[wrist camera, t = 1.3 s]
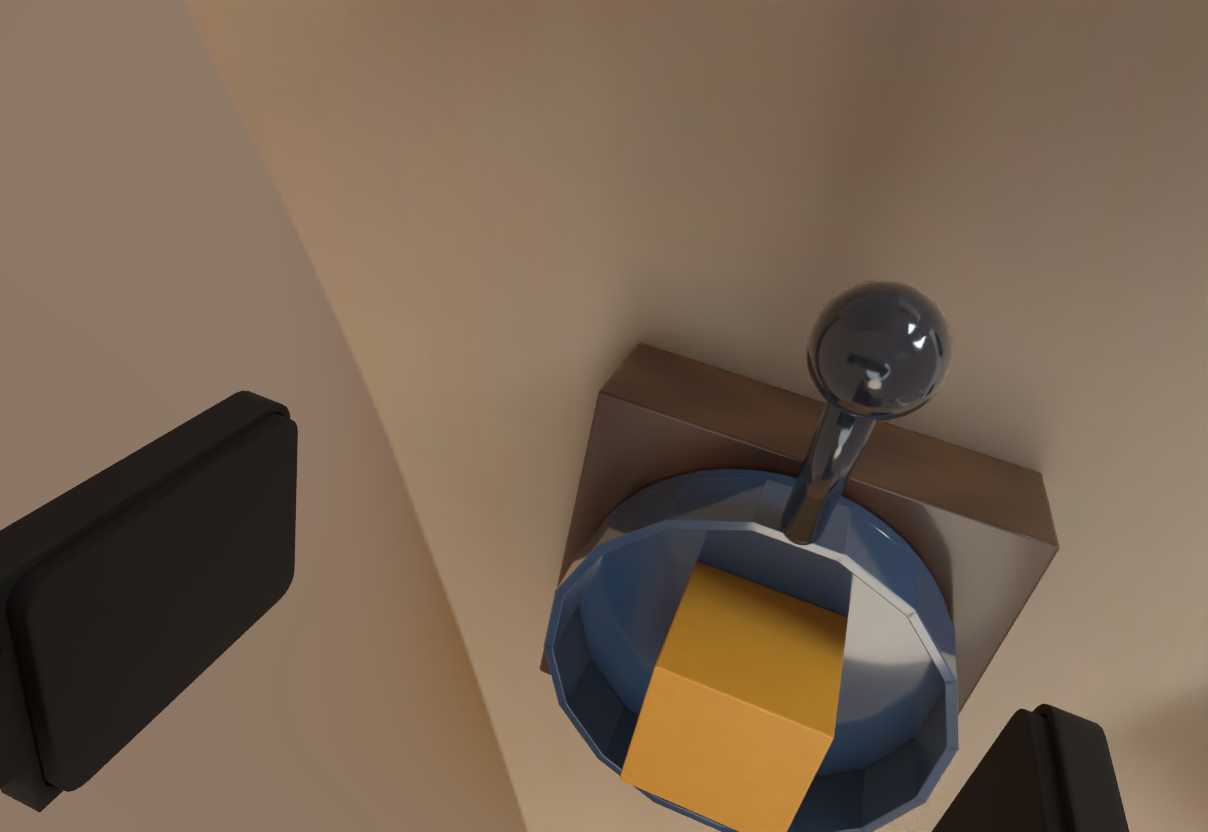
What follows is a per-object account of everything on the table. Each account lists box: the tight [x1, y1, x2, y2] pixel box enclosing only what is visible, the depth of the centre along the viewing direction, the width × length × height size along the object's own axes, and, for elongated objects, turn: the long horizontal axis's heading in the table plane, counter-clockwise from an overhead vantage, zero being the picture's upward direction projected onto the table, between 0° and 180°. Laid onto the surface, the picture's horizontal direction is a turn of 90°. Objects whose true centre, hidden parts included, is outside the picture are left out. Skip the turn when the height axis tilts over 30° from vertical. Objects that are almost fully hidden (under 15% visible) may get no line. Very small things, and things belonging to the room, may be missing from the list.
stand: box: [540, 344, 1059, 715], centre depth 27 cm, size 13×12×4 cm
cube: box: [620, 562, 848, 832], centre depth 23 cm, size 5×5×5 cm
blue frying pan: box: [544, 280, 959, 832], centre depth 22 cm, size 12×19×6 cm, turn 168°
